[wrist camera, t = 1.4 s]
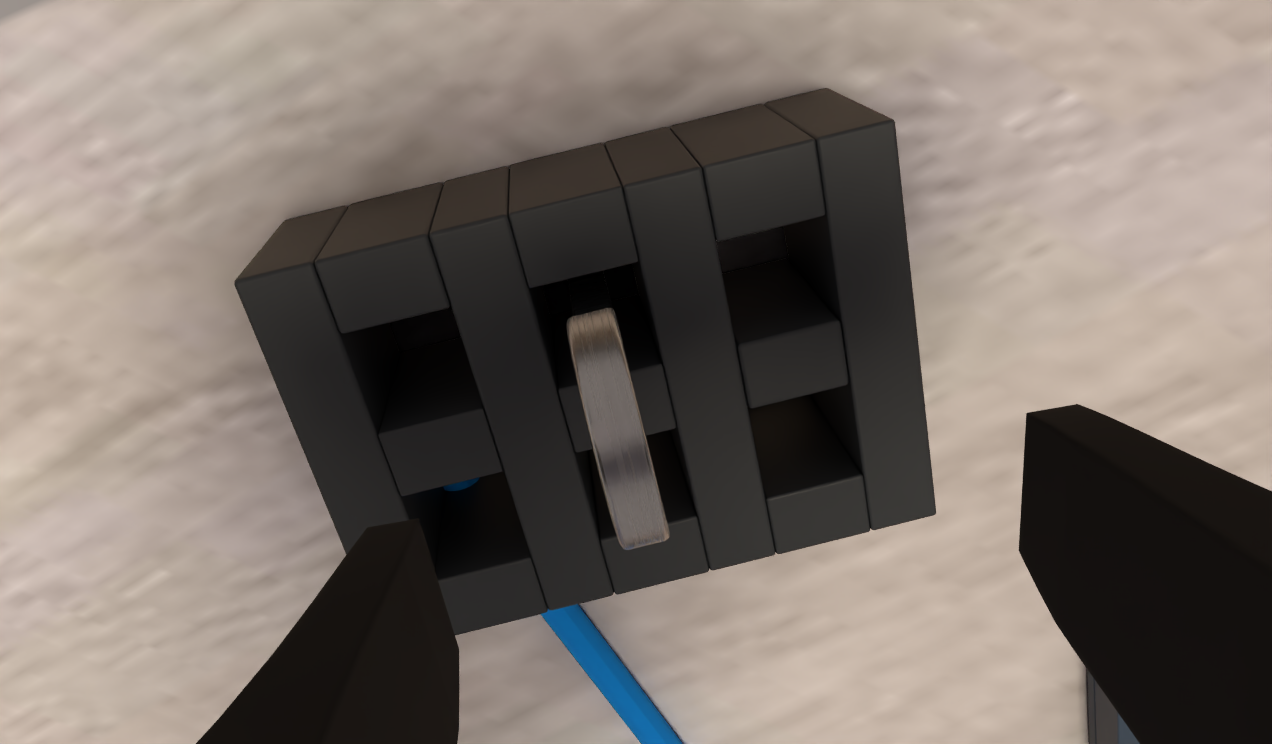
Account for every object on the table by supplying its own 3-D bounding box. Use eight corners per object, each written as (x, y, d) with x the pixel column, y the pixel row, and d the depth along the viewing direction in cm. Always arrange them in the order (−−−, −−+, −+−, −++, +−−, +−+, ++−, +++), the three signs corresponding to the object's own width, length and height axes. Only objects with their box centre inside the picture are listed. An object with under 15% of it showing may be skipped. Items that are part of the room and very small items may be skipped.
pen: (762, 889, 30) (771, 922, 29) (396, 415, 23) (390, 437, 22) (787, 876, 30) (797, 909, 29) (428, 396, 23) (424, 417, 21)
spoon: (586, 335, 22) (633, 600, 13) (548, 190, 21) (571, 377, 12) (616, 328, 22) (683, 588, 13) (581, 182, 21) (629, 362, 12)
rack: (406, 543, 24) (386, 653, 20) (282, 219, 20) (231, 281, 17) (873, 427, 24) (937, 516, 20) (828, 86, 20) (895, 118, 17)
